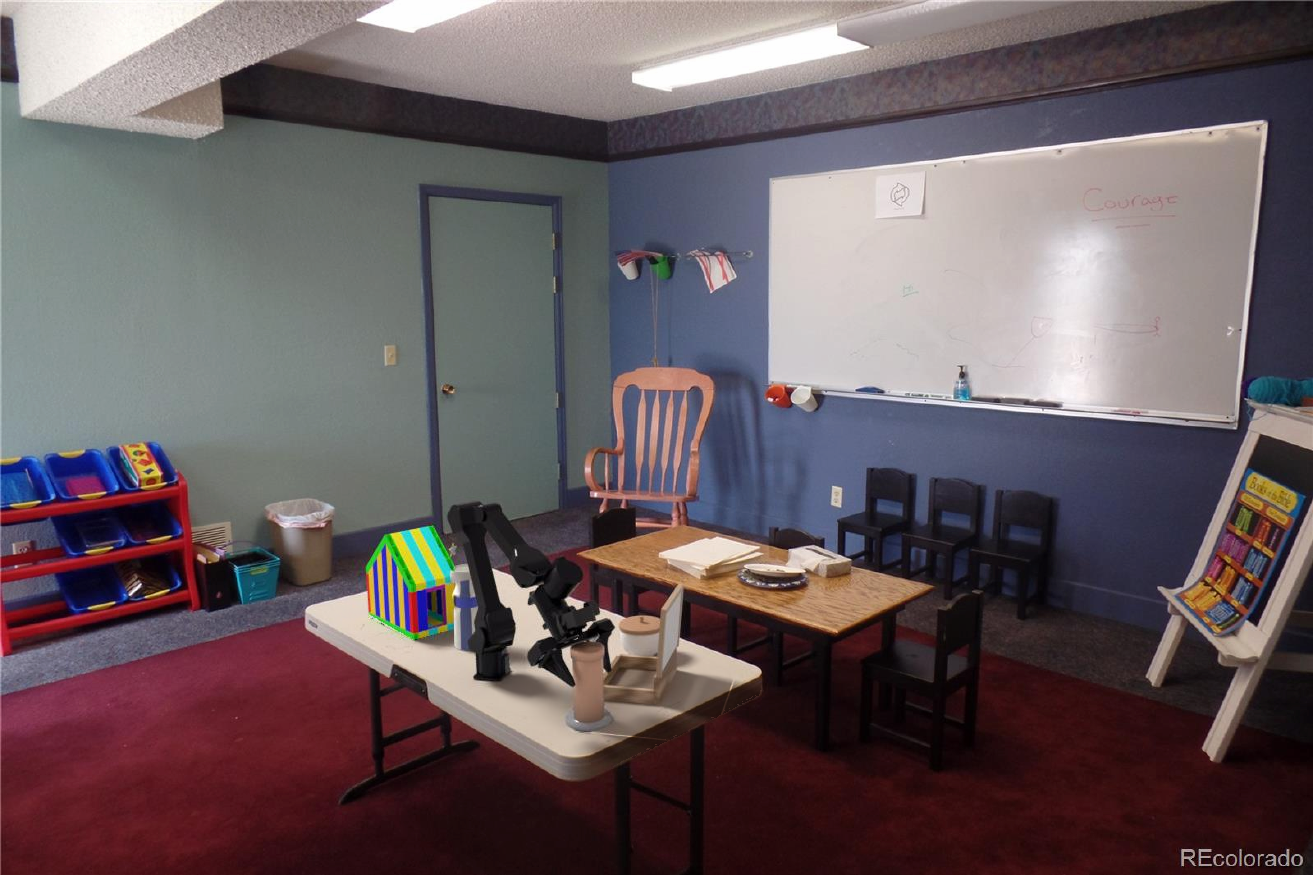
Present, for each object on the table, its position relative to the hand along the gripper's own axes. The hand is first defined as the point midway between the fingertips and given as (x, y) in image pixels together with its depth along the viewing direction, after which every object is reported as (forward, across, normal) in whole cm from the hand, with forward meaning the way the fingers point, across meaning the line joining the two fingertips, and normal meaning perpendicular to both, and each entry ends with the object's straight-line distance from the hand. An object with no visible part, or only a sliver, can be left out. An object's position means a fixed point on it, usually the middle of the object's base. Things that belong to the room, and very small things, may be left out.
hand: (592, 678), depth 169 cm
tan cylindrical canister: (+5, 0, +7) cm, 8 cm away
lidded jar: (-6, +31, +20) cm, 37 cm away
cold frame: (+2, +18, +11) cm, 22 cm away
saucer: (+5, 0, +8) cm, 9 cm away
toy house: (-49, +6, +62) cm, 79 cm away
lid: (+2, +22, +3) cm, 22 cm away
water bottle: (-32, +7, +45) cm, 55 cm away
